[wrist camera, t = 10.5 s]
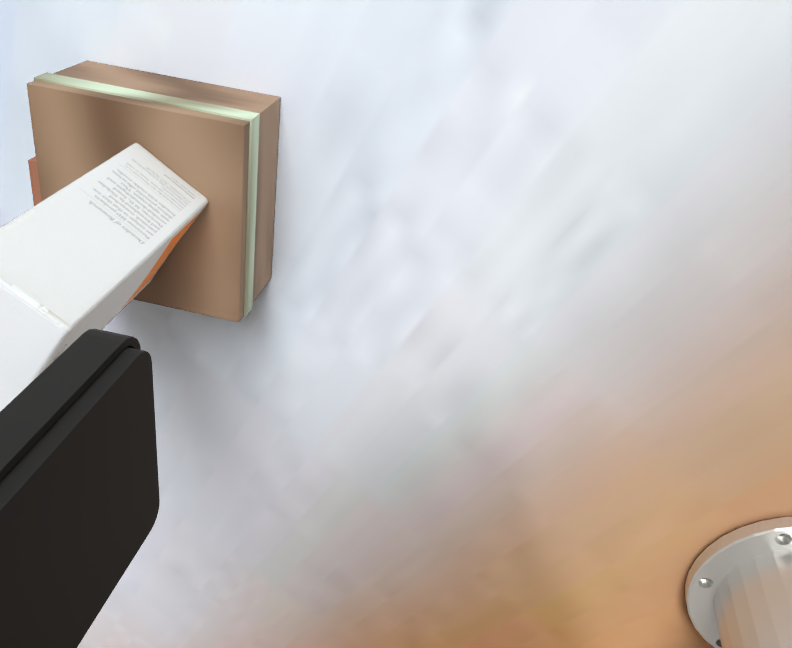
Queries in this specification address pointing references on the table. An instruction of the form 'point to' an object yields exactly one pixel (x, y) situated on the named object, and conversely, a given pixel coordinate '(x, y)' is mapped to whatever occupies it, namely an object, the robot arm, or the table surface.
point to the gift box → (183, 154)
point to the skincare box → (85, 258)
